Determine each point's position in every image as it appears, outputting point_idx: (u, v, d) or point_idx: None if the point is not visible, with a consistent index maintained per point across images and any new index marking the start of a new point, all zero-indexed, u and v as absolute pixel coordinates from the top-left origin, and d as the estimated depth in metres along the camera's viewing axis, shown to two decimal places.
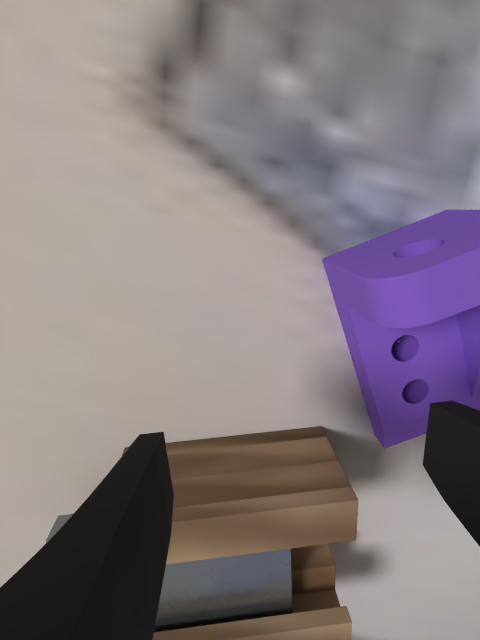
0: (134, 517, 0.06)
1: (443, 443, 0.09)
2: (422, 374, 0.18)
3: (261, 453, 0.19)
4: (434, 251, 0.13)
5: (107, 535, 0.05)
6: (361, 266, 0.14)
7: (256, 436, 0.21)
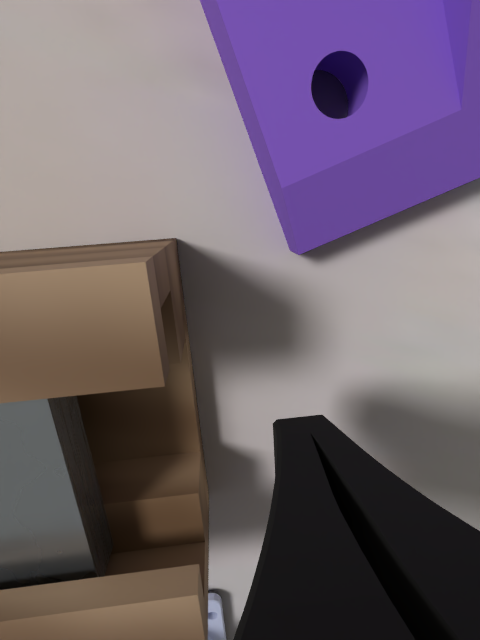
0: None
1: None
2: (351, 36, 0.08)
3: (25, 254, 0.09)
4: None
5: (330, 508, 0.05)
6: None
7: (47, 248, 0.11)
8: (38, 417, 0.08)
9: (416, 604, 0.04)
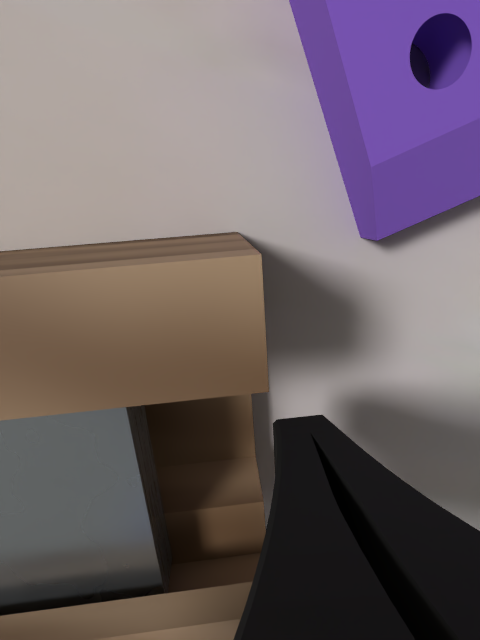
0: None
1: None
2: None
3: (89, 249, 0.09)
4: None
5: (330, 508, 0.05)
6: None
7: (103, 243, 0.10)
8: (114, 424, 0.08)
9: (416, 604, 0.04)
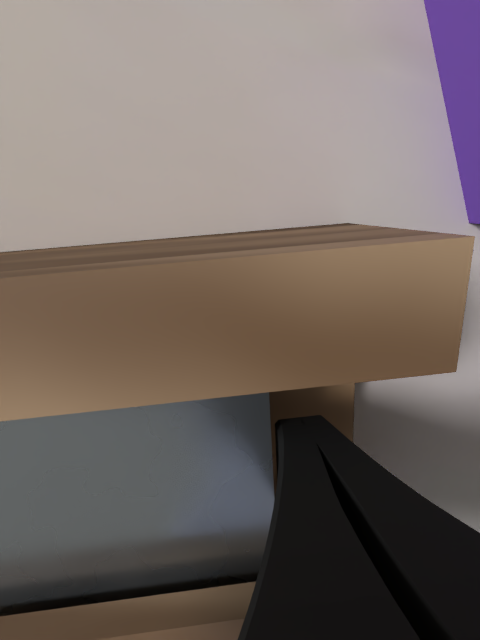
0: None
1: None
2: None
3: (226, 238, 0.09)
4: None
5: (333, 507, 0.05)
6: None
7: (221, 234, 0.11)
8: (255, 409, 0.08)
9: (413, 604, 0.04)
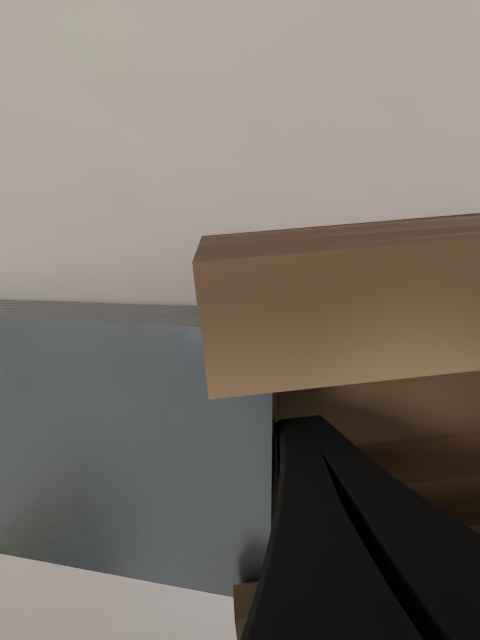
0: None
1: None
2: None
3: None
4: None
5: (335, 507, 0.05)
6: None
7: (449, 216, 0.11)
8: (257, 419, 0.07)
9: (411, 604, 0.04)
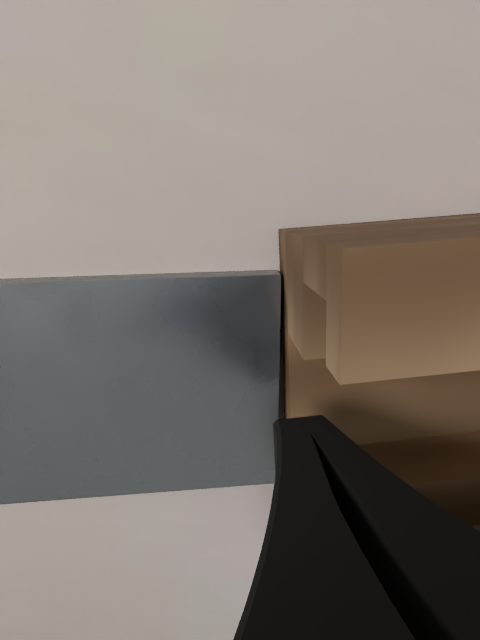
0: None
1: None
2: None
3: None
4: None
5: (330, 508, 0.05)
6: None
7: None
8: (270, 338, 0.11)
9: (416, 604, 0.04)
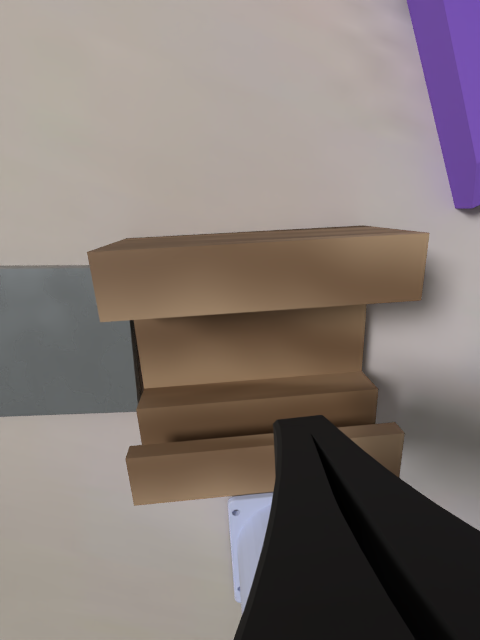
0: None
1: None
2: None
3: (295, 232, 0.16)
4: None
5: (330, 508, 0.05)
6: None
7: (286, 230, 0.17)
8: None
9: (416, 603, 0.04)
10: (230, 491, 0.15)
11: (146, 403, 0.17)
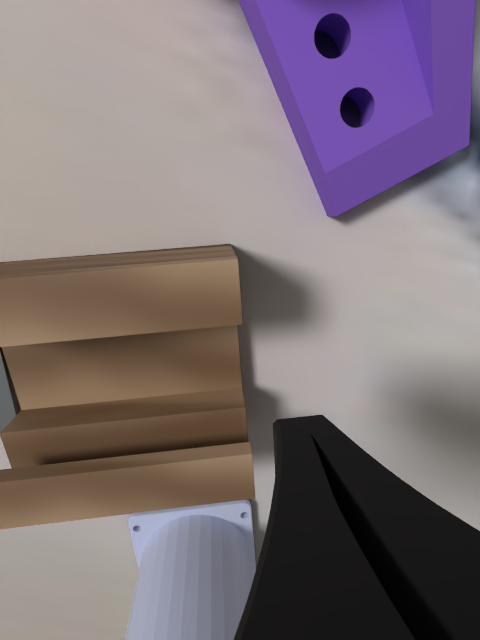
0: None
1: None
2: (362, 78, 0.14)
3: (145, 254, 0.16)
4: None
5: (330, 507, 0.05)
6: None
7: (149, 251, 0.17)
8: None
9: (415, 604, 0.04)
10: (82, 514, 0.15)
11: (13, 426, 0.17)
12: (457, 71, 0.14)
